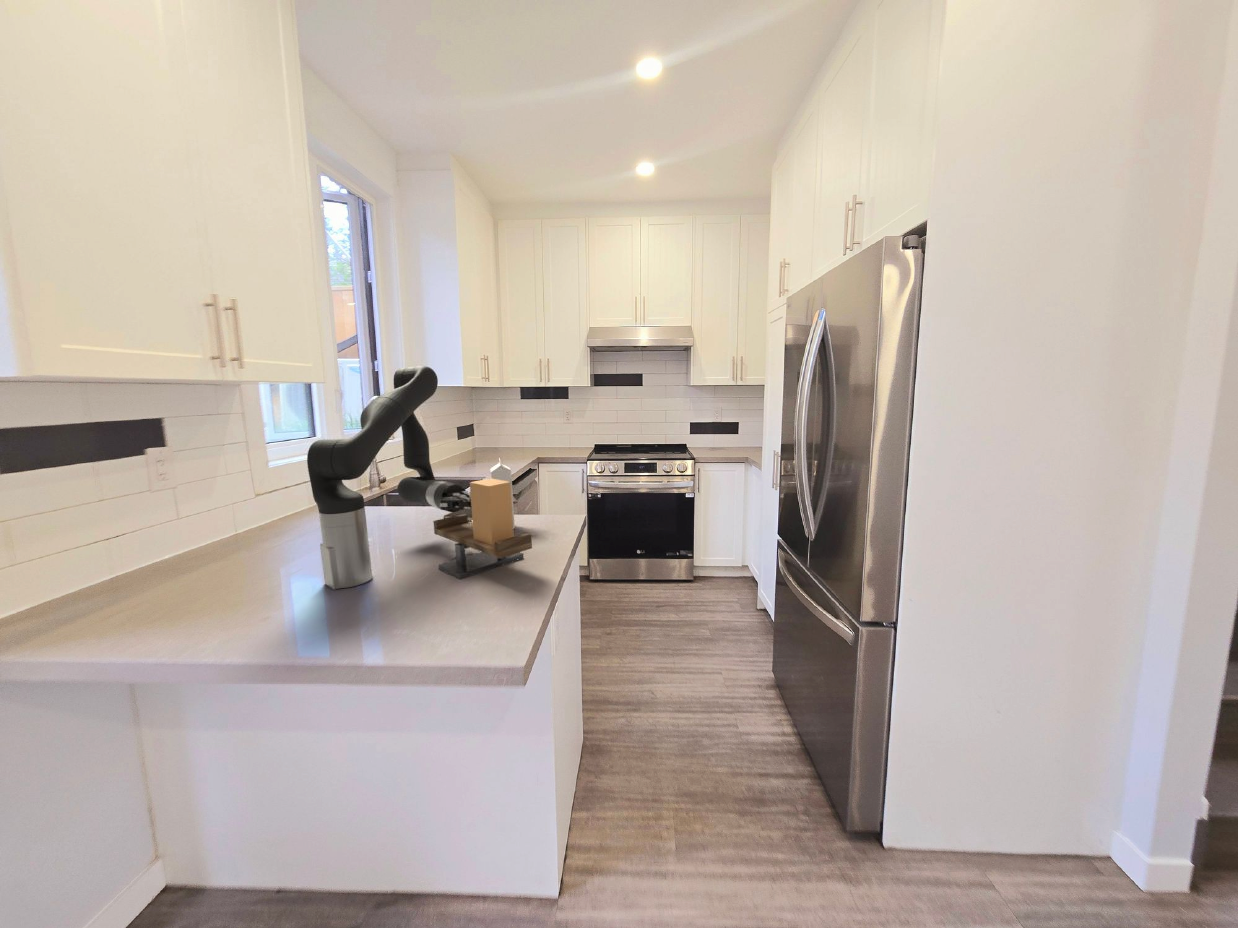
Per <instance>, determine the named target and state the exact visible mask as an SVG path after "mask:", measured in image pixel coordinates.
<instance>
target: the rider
mask: <svg viewBox="0 0 1238 928" xmlns="http://www.w3.org/2000/svg"><path fill="white" fill-rule="evenodd" d="M469 489H470V490H469V491H470V492H469V493H471V507H472V520H473V522H472V523H473V534H474V539H476V540H479V541H482V542H485V543H488V544H491V545H495V542H497V541H501V540H504V539H508V538H511V537H515V532H514V530H513V515H512V499H511V483H510V482H508V481H502V480H497V479H492V478H491V477H490V478H484V479H481V480H480V479H479V480H476V481H470V482H469Z"/></svg>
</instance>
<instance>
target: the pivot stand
mask: <svg viewBox="0 0 1238 928" xmlns="http://www.w3.org/2000/svg"><path fill="white" fill-rule="evenodd" d="M454 549H455V551H454V553H455V559H453V560H450V561H447V562H444V563H443V562H442V563H440V564H438V570H439V571H442V572H444V573H446V574H448V575H450V576H452V577H455V578H457V579H459V580H461V579H465V578H467V577H471V576H473V575H476V574H480V573H482V572H483V573H484V572H485V571H489V570H492V569H496V568H498V567H501V566H504V565H508V564H510V563H512V561H513V562H516V561H518V560H517V559H519V560H522V559H524V553H522V552H519V553H516V554H512V555H509V556H506V557H503V558H500V559H499V558H497V557H494V556H491V555H489V554H486V553H484V552H481V551H479V552H477V553H473V554H470V555H467V556H466V549H465V545H464V544H461V543H457V542H456V543H454ZM503 564H504V565H503Z"/></svg>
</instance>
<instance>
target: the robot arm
mask: <svg viewBox="0 0 1238 928" xmlns="http://www.w3.org/2000/svg"><path fill="white" fill-rule="evenodd" d="M438 381H439V380H438V375H437V373H436V372H435V370H434V369H432V368H431V367H429V366H426V365H417V366H408V367H401V368H398V369H397V370H396V371H394V374H393V389H391V390H389V391H387V392H384V393H382V394H381V395H378V396H376V397H375V398H374V399H373V400H372V401H370V402H369V403H368V405H367V406H365V407H364V409H363V410H362V412H361V414H360V419H359V420H360V421H359V422H360V427H361V430H360V431H359V432H358V433H356V434H355V435H354V436H352V437H350V438H337V439H335V438H333V439H319V440H316V441H314V442H312V444H311V445H310V446H309V448H308V451H307V457H306V458H307V459H306V461H307V463H306V464H307V472H308V477H309V483H310V486H311V491H312V497H313V500H314V502H315V503H316V505H317V508H318V509H317V510H318V516H319V523H320V532H321V541H322V543H321V542H320V545H319V547H320V554H321V555H320V556H321V563H322V570H323V578H324V579H323V580H324V584H325V585H326V586H327V587H329V588H331V589H332V590H337V589H345V588H352V587H355V586H360V585H362V584H365V583H368V582H369V581H370V580H371V579H373V569H372V561H371V559H372V558H371V552H370V541H369V533H368V525H367V524H368V523H367V518H366V517H367V514H366V505H365V499H364V495H362V493H360V492H357V491H354V490H353V489H350V488H348V487H347V486H346V485H345V484H344V482H343V481H352V480H355V479H358V478H359V477H361V476H362V475H364V474H365V472H366V471H367V470H368V469H369V467H370V466H371V464H372V463H373V461H374V460H375V458H376V457H377V455H378V453H379V452H380V450H382V448H383V447H384V445H385V444H386V443H387V442H388V441H389V439H390V438H391V437H392V436H393V435H394V434H395V433H396V432H397V431H398V430H399V429H400V428H401V433H402V448H403V449H402V450H403V452H402V453H403V465H404V467H405V468H406V469H410V470H413V471H416V472H417V474H418V475H419V476H407V477H404V478H402V479H401V480H400V481H399V483H398V484H397V495H398V496H399V498H400V499H401V500H402V501H403V502H406V503H415V504H425V505H429V506H432V507H433V508H436V509H438V510H441V511H445V512H449V513H451V512H457V511H459V510H463V509H466V508H468V509H471V508H472V507H471V493H470V492H468V490H466V489H465V487H464V486H463V485H461V484H459V483H455V482H450V481H445V480H444V481H442V480H441V481H439V480H436V478H435V475H434V472H433V469H432V465H431V462H430V461H431V460H430V444H429V443H430V442H429V437H428V435H427V432H426V430H425V429H424V427H423V426H422V425H421V423H420V422H419V420H418V418H417V416H416V415H415V411H416V410H417V409H418V408H419V407H421V405H422V404H424V403H425V402H426V401H428V400H429V399H430V398H431V397H433V396H434V395H435V393H436V391H437V388H438Z"/></svg>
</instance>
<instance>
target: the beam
mask: <svg viewBox="0 0 1238 928" xmlns="http://www.w3.org/2000/svg"><path fill="white" fill-rule="evenodd" d="M432 522H433V531H434V533H433V534H434V535H437V536H440V537H442V538H444V539H447V540H450V541H452V542H455V543H456V544H457V543H461V544H464V545H465V550H466V549H469V548H471V549H473V550H476V551H479V552H484V553H486V554H489V555H491V556H494V557H497V558H499V559H500V558H503V557H506V556H509V555H512V554H516V553H519V552H520V553H522V552H524V551H528V550H531V549H532V548H533V543H532V533H529V532H526V533H522V534H518V535H514V537H511V538H508V539H504V540H501V541H497V542H495V545H491V544H488V543H485V542H482V541H479V540H476V539H474V534H473V522H471V521H468V518H467V515H466V514H462V515H457V516H453V517H449V518H444V517H443V518H440V519H436V520H433V521H432Z"/></svg>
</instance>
